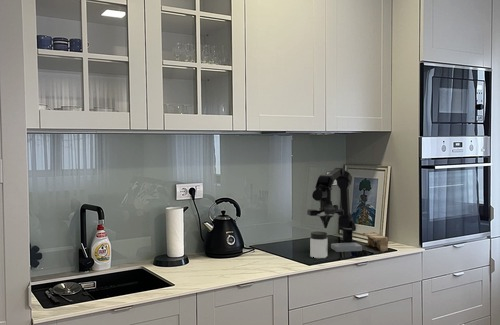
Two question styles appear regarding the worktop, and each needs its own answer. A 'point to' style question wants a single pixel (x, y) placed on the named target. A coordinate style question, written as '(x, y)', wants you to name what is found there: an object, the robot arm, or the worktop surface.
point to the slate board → (346, 247)
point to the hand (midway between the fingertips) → (325, 228)
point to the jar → (318, 245)
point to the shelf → (377, 241)
